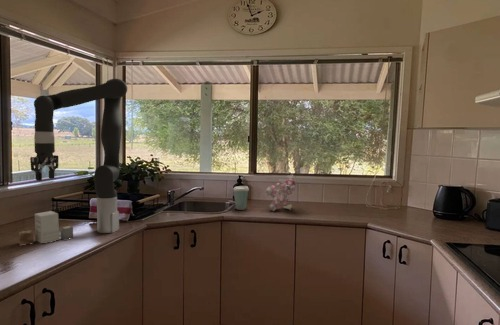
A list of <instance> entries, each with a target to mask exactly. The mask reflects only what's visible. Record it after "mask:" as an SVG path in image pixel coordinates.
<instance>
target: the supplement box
mask: <svg viewBox="0 0 500 325" xmlns="http://www.w3.org/2000/svg"><path fill="white" fill-rule="evenodd" d="M59 223H60V222H59V213H58V212H55V211H52V210H49V211H43V212H38V213H34V228H35V229H34V230H35V233H34V234H35V242H37V241H38V242H40V243H46V242H50V243H52V242H51V241H55V242H57V241H56V240H59V241H60V229H59ZM38 242H37V243H38ZM40 243H39V244H40ZM46 244H47V243H46Z"/></svg>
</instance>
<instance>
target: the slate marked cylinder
mask: <svg viewBox="0 0 500 325" xmlns="http://www.w3.org/2000/svg"><path fill="white" fill-rule="evenodd" d="M69 238H73V239H74V227H73V226H69V225H68V226H67V225H66V226H63V227H60V240H61V239H69Z"/></svg>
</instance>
